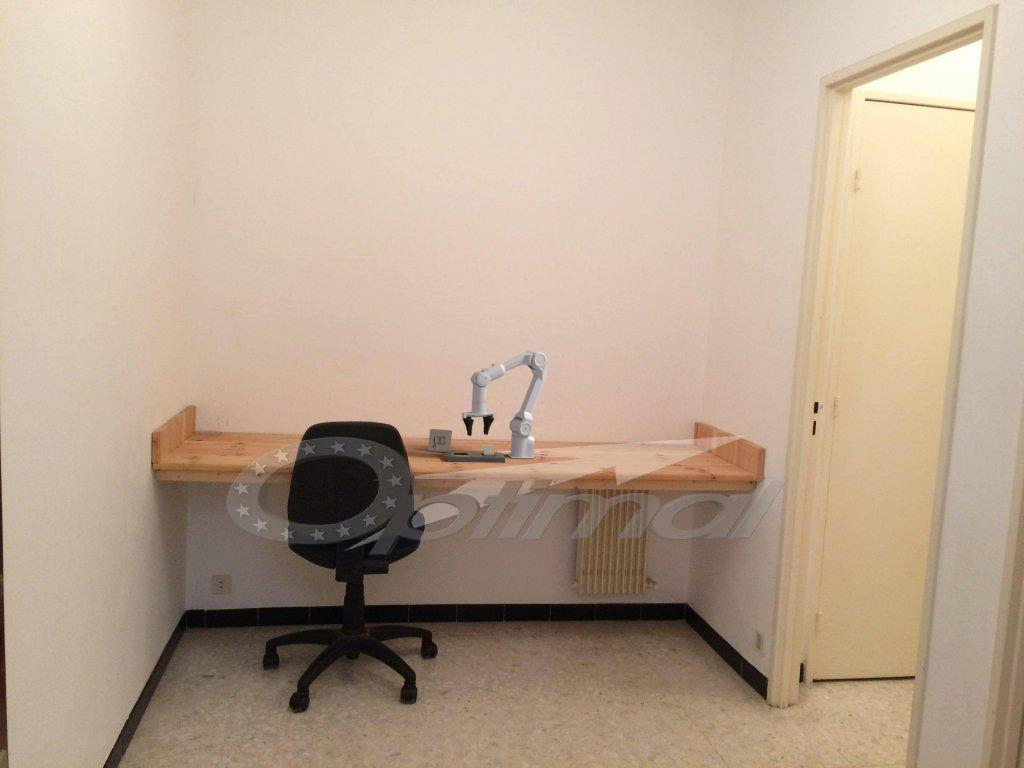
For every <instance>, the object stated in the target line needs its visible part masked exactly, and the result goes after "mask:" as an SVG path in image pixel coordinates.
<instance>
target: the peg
mask: <svg viewBox="0 0 1024 768" xmlns="http://www.w3.org/2000/svg"><path fill="white" fill-rule="evenodd" d="M482 445H483V446H482V452H483V456H494V452H495V447H496V446H495V445H494V444H493V443H492V444H491V443H483V444H482Z"/></svg>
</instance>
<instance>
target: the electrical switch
mask: <svg viewBox="0 0 1024 768" xmlns="http://www.w3.org/2000/svg"><path fill="white" fill-rule="evenodd" d="M452 435H453V431H452V430H451V429H440V428H439V429H438V428H437V429H436V428H430V429H429V435H428V447H427V450H428V452H436V453H445V451H448V452H452V449H451V448H452Z"/></svg>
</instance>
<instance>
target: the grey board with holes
mask: <svg viewBox="0 0 1024 768" xmlns="http://www.w3.org/2000/svg"><path fill="white" fill-rule="evenodd" d="M444 459H445V461H446V462H452V463H461V462H462V463H463V462H464V463H496V464H497V463H503V464H505V463H506V457H505V456H504V454H503V453H502V452H495V451H494V456H483V451H450V452H448V451H445V452H444Z"/></svg>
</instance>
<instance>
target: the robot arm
mask: <svg viewBox="0 0 1024 768" xmlns="http://www.w3.org/2000/svg"><path fill="white" fill-rule="evenodd" d="M548 363H549V360H548V358H547V356H546V353H543V352H542V351H535V350H530V349H529V350H527V351H524V352H522V353H520V354H518V355H517V356H515V357H513V358H511V359H508V360H507V361H504V362H503V363H499V362H497V363H496V362H493V363H491V365H490V366H488V367H485V368H481V371H479V370H477V371H475V372H473V374H472V375H471V377H470V382H471V384H472V391H471V393H472V394H471V411H467V412H461V418H462V421H463V424H464V425H465V430H466V434H467V436H468V437H472V434H473V425H474V421H475V420H474V419H473V418H482V422H483V435H485V436H486V435H487V436H488V434H489V431H490V428H491V426H492V424H493V423H494V420H495V417H496V411H490V410H489V411H487V395H488V394H487V393H488V392H487V391H488V386H489V384H490V383H491V382H493V381H495V380H497V379H500V378H502V377H504V376H505V374H506V372H508V371H509V370H512V369H515V368H517V367H520V366H523V365H524V366H527V367H528V368H529V369H530V371H531V373H532V379H531V380H530V384H529V386H528V388H527V391H526V394H525V396H524V399H523V401H522V404H521V407H520V409H519V411H518V412H516V413H515V415H514V417H513V418H512V419H511V420H510V422H509V430H510V431H511V436H510V437H511V438H510V452H509V453H508V454H507V455H508V457H510V458H511V459H534V458H535V457H534V455H535V454H534V453H535V437H534V435H531V434H532V431H533V423H534V418H533V414H534V411H535V409H536V406H537V404H538V402H539V398H540V396H541V393H542V391H543V388H544V385H545V383H546V382H547V381H546V380H547V378H548Z"/></svg>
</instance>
